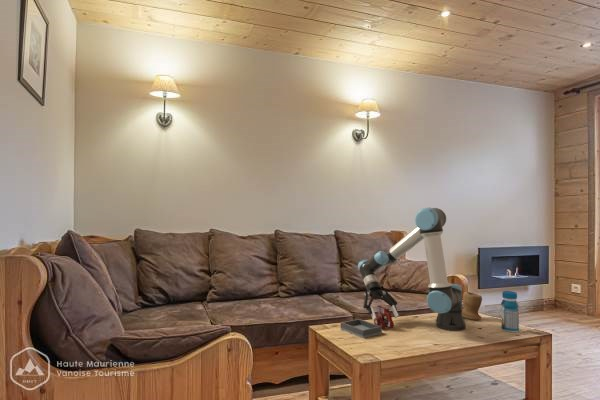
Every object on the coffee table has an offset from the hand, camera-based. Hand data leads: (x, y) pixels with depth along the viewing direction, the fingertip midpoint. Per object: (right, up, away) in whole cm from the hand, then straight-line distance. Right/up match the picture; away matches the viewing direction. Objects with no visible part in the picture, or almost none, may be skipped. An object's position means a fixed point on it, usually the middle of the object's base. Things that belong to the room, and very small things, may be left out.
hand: (386, 317), depth 201 cm
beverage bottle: (+65, -6, -3) cm, 65 cm away
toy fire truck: (-1, -6, +2) cm, 6 cm away
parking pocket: (-15, -5, -6) cm, 17 cm away
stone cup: (+54, -7, +21) cm, 58 cm away
